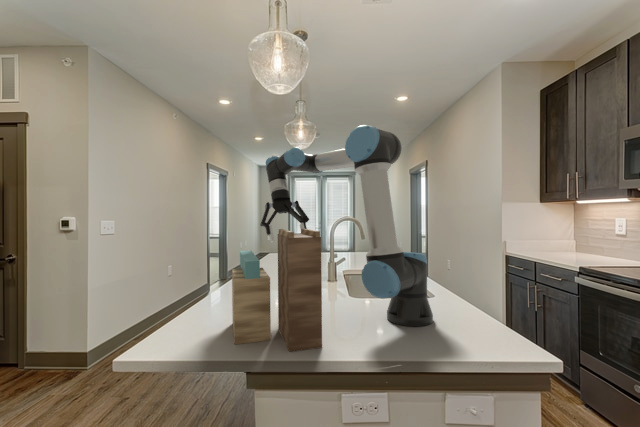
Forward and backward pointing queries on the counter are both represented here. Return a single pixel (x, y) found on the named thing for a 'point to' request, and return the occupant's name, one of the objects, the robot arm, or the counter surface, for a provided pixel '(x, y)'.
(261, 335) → the wooden toy block
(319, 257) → the chute stand
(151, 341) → the counter surface
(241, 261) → the bar
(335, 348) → the counter surface
